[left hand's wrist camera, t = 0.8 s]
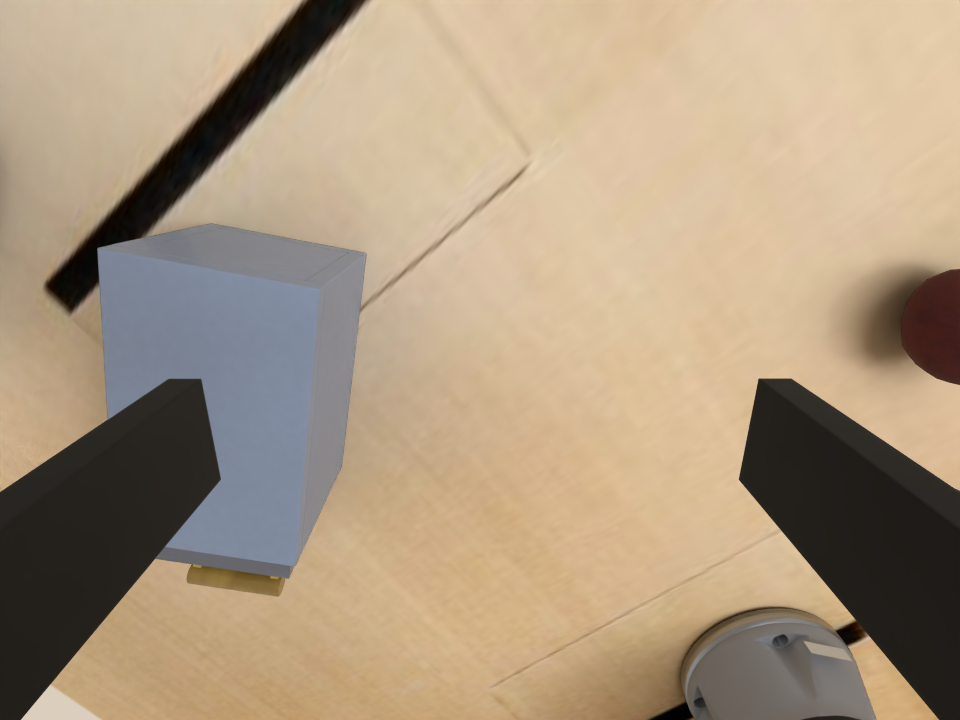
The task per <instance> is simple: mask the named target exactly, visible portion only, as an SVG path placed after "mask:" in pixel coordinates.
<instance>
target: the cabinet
mask: <svg viewBox="0 0 960 720" xmlns="http://www.w3.org/2000/svg"><path fill="white" fill-rule="evenodd" d="M365 262H366V253H363V252H358V251H352V250H347V249H342V248H337V247H331V246H326V245H321V244H316V243H311V242H305V241H300V240H295V239H290V238H284V237H279V236H274V235H269V234H264V233H258V232H253V231H248V230H243V229H237V228H232V227H227V226H222V225H217V224H207V225H202V226H197V227H192V228H188V229H183V230H178V231H173V232H169V233H164V234H159V235H155V236H150V237H145V238H141V239H136V240H131V241H126V242H122V243H117V244H112V245H109V246H105V247H100V248H98V266H99V283H100V299H101V316H102V333H103V349H104V366H105V383H106V399H107V416H108V419H110V418H111V417H113V416H114V415H116V414H117V413H119V412H120V411H121V410H123V409H124V408H126V407H127V406H129V405H130V404H132V403H133V402H135V401H136V400H138V399H139V398H141V397H142V396H144V395H145V394H147V393H148V392H150V391H151V390H153V389H154V388H156V387H157V386H159V385H160V384H162V383H163V382H165V381H166V380H168V379H201V380H202V385H203V390H204V395H205V400H206V405H207V410H208V415H209V420H210V426H211V431H212V436H213V441H214V446H215V451H216V456H217V461H218V466H219V471H220V477H221V480H220V481H219V483H218V484H217V485H216V486H215V487H214V489H213V490H212V491H211V492H210V493H209V495H208V496H207V497H206V498H205V499H204V501H203V502H202V503H201V504H200V505H199V507H198V508H197V509H196V510H195V511H194V513H193V514H192V515H191V516H190V517H189V519H188V520H187V521H186V522H185V523H184V525H183V526H182V527H181V528H180V529H179V531H178V532H177V533H176V534H175V535H174V537H173V538H172V539H171V540H170V541H169V543H168V544H167V545H166V546H165V547H168V548H175V549H182V550H188V551H195V552H202V553H208V554H215V555H221V556H228V557H235V558H241V559H248V560H255V561H261V562H268V563H274V564H281V565H288V566H296V564H297V562H298V560H299V557H300V555H301V553H302V551H303V549H304V547H305V545H306V542H307V540H308V538H309V536H310V534H311V532H312V529H313V527H314V525H315V523H316V521H317V519H318V516H319V514H320V512H321V510H322V508H323V506H324V503H325V501H326V499H327V497H328V495H329V493H330V490H331V488H332V486H333V484H334V482H335V480H336V477H337V475H338V473H339V471H340V469H341V467H342V460H343V451H344V443H345V434H346V425H347V417H348V408H349V400H350V391H351V382H352V374H353V365H354V357H355V348H356V339H357V331H358V322H359V314H360V305H361V297H362V288H363V279H364V271H365Z"/></svg>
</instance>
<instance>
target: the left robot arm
mask: <svg viewBox="0 0 960 720" xmlns="http://www.w3.org/2000/svg"><path fill="white" fill-rule="evenodd" d="M220 480H221V477H220V471H219V466H218V461H217V456H216V451H215V446H214V441H213V436H212V431H211V426H210V420H209V415H208V410H207V405H206V400H205V395H204V390H203V385H202V380H201V379H168V380H166V381H165V382H163V383H162V384H160V385H159V386H157V387H156V388H154V389H153V390H151V391H150V392H148V393H147V394H145V395H144V396H142V397H141V398H139V399H138V400H136V401H135V402H133V403H132V404H130V405H129V406H127V407H126V408H124V409H123V410H121V411H120V412H119V413H117V414H116V415H114V416H113V417H111V418H110V419H108V420H107V421H105V422H104V423H102V424H101V425H99V426H98V427H96V428H95V429H93V430H92V431H90V432H89V433H87V434H86V435H84V436H83V437H81V438H80V439H78V440H77V441H75V442H74V443H72V444H71V445H69V446H68V447H67V448H65V449H64V450H62V451H61V452H59V453H58V454H56V455H55V456H53V457H52V458H50V459H49V460H47V461H46V462H44V463H43V464H41V465H40V466H38V467H37V468H35V469H34V470H32V471H31V472H29V473H28V474H26V475H25V476H23V477H22V478H20V479H19V480H18V481H16V482H15V483H13V484H12V485H10V486H9V487H7V488H6V489H4V490H3V491H1V492H0V720H21V719H22V718H23V716H24V715H25V714H26V713H27V712H28V710H29V709H30V708H31V707H32V706H33V704H34V703H35V702H36V701H37V700H38V698H39V697H40V696H41V695H42V694H43V692H44V691H45V690H46V689H47V688H48V686H49V685H50V684H51V683H52V682H53V680H54V679H55V678H56V677H57V676H58V674H59V673H60V672H61V671H62V670H63V668H64V667H65V666H66V665H67V664H68V662H69V661H70V660H71V659H72V658H73V657H74V655H75V654H76V653H77V652H78V651H79V649H80V648H81V647H82V646H83V645H84V643H85V642H86V641H87V640H88V639H89V637H90V636H91V635H92V634H93V633H94V631H95V630H96V629H97V628H98V627H99V625H100V624H101V623H102V622H103V621H104V619H105V618H106V617H107V616H108V615H109V613H110V612H111V611H112V610H113V609H114V607H115V606H116V605H117V604H118V603H119V601H120V600H121V599H122V598H123V597H124V595H125V594H126V593H127V592H128V591H129V589H130V588H131V587H132V586H133V585H134V583H135V582H136V581H137V580H138V579H139V577H140V576H141V575H142V574H143V573H144V571H145V570H146V569H147V568H148V567H149V565H150V564H151V563H152V562H153V561H154V559H155V558H156V557H157V556H158V555H159V553H160V552H161V551H162V550H163V549H164V547H165V546H166V545H167V544H168V543H169V541H170V540H171V539H172V538H173V537H174V535H175V534H176V533H177V532H178V531H179V529H180V528H181V527H182V526H183V525H184V523H185V522H186V521H187V520H188V519H189V517H190V516H191V515H192V514H193V513H194V511H195V510H196V509H197V508H198V507H199V505H200V504H201V503H202V502H203V501H204V499H205V498H206V497H207V496H208V495H209V493H210V492H211V491H212V490H213V489H214V487H215V486H216V485H217V484H218V483H219V481H220ZM739 480H740V481H741V483H742V484H743V485H744V486H745V487H746V489H747V490H748V491H749V492H750V493H751V495H752V496H753V497H754V498H755V499H756V501H757V502H758V503H759V504H760V505H761V507H762V508H763V509H764V510H765V511H766V513H767V514H768V515H769V516H770V517H771V519H772V520H773V521H774V522H775V523H776V525H777V526H778V527H779V528H780V529H781V531H782V532H783V533H784V534H785V535H786V537H787V538H788V539H789V540H790V541H791V543H792V544H793V545H794V546H795V547H796V549H797V550H798V551H799V552H800V553H801V555H802V556H803V557H804V558H805V559H806V561H807V562H808V563H809V564H810V565H811V567H812V568H813V569H814V570H815V571H816V573H817V574H818V575H819V576H820V577H821V579H822V580H823V581H824V582H825V583H826V585H827V586H828V587H829V588H830V589H831V591H832V592H833V593H834V594H835V595H836V597H837V598H838V599H839V600H840V601H841V603H842V604H843V605H844V606H845V607H846V609H847V610H848V611H849V612H850V613H851V615H852V616H853V617H854V618H855V619H856V621H857V622H858V623H859V624H860V625H861V627H862V628H863V629H864V630H865V631H866V633H867V634H868V635H869V636H870V637H871V639H872V640H873V641H874V642H875V643H876V645H877V646H878V647H879V648H880V649H881V651H882V652H883V653H884V654H885V655H886V657H887V658H888V659H889V660H890V661H891V662H892V664H893V665H894V666H895V667H896V668H897V670H898V671H899V672H900V673H901V674H902V676H903V677H904V678H905V679H906V680H907V682H908V683H909V684H910V685H911V686H912V688H913V689H914V690H915V691H916V692H917V694H918V695H919V696H920V697H921V698H922V700H923V701H924V702H925V703H926V704H927V706H928V707H929V708H930V709H931V710H932V712H933V713H934V714H935V715H936V716H937V718H938V719H939V720H960V491H959V490H957V489H955V488H953V487H951V486H950V485H948V484H947V483H945V482H944V481H942V480H941V479H940V478H938V477H937V476H935V475H934V474H932V473H931V472H929V471H928V470H926V469H925V468H923V467H922V466H920V465H919V464H917V463H916V462H914V461H913V460H911V459H910V458H908V457H907V456H905V455H904V454H902V453H901V452H899V451H898V450H896V449H895V448H893V447H892V446H890V445H889V444H888V443H886V442H885V441H883V440H882V439H880V438H879V437H877V436H876V435H874V434H873V433H871V432H870V431H868V430H867V429H865V428H864V427H862V426H861V425H859V424H858V423H856V422H855V421H853V420H852V419H850V418H849V417H847V416H846V415H844V414H843V413H841V412H840V411H839V410H837V409H836V408H834V407H833V406H831V405H830V404H828V403H827V402H825V401H824V400H822V399H821V398H819V397H818V396H816V395H815V394H813V393H812V392H810V391H809V390H807V389H806V388H804V387H803V386H801V385H800V384H798V383H797V382H795V381H794V380H792V379H759V380H758V385H757V390H756V395H755V400H754V405H753V410H752V415H751V420H750V426H749V431H748V436H747V441H746V446H745V451H744V456H743V461H742V466H741V471H740V476H739Z"/></svg>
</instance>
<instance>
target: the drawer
mask: <svg viewBox="0 0 960 720" xmlns="http://www.w3.org/2000/svg"><path fill="white" fill-rule="evenodd" d="M155 559H161V560H167V561H174V562H181V563H188V564H192V565H191V567H190V569H189V571H188V575H187V583H189V584H196V585H203V586H210V587H217V588H223V589H230V590H237V591H244V592H251V593H257V594H264V595H271V596H280V594H281V592H282V590H283V586H284V582H285V578H289V577H290V575H291V573H292V571H293V569H294V567H295V566H288V565H281V564H274V563H268V562H261V561H255V560H248V559H241V558H235V557H228V556H221V555H215V554H208V553H202V552H195V551H188V550H182V549H175V548H168V547H164V549H163V550H162V551H161V552H160V553H159V555H158V556H157V557H156V558H155Z"/></svg>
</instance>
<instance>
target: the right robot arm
mask: <svg viewBox="0 0 960 720" xmlns="http://www.w3.org/2000/svg"><path fill="white" fill-rule="evenodd" d="M681 687H682V691H683V694H684V696H685V699H686V701H687V704H688V707H689V709H690V711H691V713H692V715H693V716H694V718H695V719H696V720H877V719H876V717H875V714H874V711H873V708H872V706H871V703H870V700H869V697H868V694H867V692H866V689H865V686H864V683H863V680H862V678H861V675H860V672H859V669H858V666H857V664H856V661H855V659H854V658H853V655H852V653H851V651H850V649H849V648H848V647H847V645H846V644H845V643H844V641H843V640H842V639H841V637H840V636H839V635H838V634H837V632H836V631H835V630H834V629H833V628H832V627H831V626H830V625H829V624H828V623H826V622H825V621H824V620H822V619H820V618H818V617H816V616H814V615H812V614H809V613H806V612H803V611H799V610H793V609H783V608H773V609H762V610H756V611H751V612H747V613H744V614H740V615H738V616H735V617H732V618H730V619H728V620H726V621H724V622H722V623H720V624H718V625H717V626H715V627H714V628H712V629H711V630H709V631H708V632H707V633H705V634H704V635H703V636H702V637H701V638H700V639H699V640H698V641H697V642H696V643H695V644H694V645H693V647H692V648H691V649H690V651H689V653H688V654H687V656H686V658H685V660H684V663H683V666H682V670H681Z"/></svg>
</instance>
